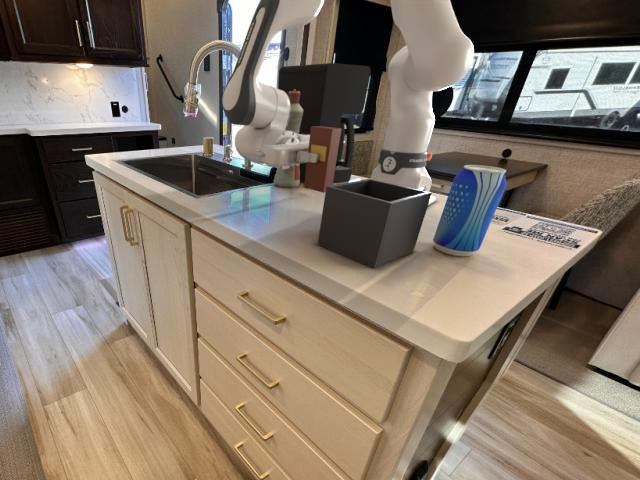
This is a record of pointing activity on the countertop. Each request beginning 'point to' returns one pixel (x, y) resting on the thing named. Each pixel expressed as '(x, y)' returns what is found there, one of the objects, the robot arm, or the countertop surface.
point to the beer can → (469, 209)
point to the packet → (322, 157)
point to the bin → (372, 220)
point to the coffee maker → (328, 103)
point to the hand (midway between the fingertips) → (325, 157)
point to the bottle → (292, 174)
